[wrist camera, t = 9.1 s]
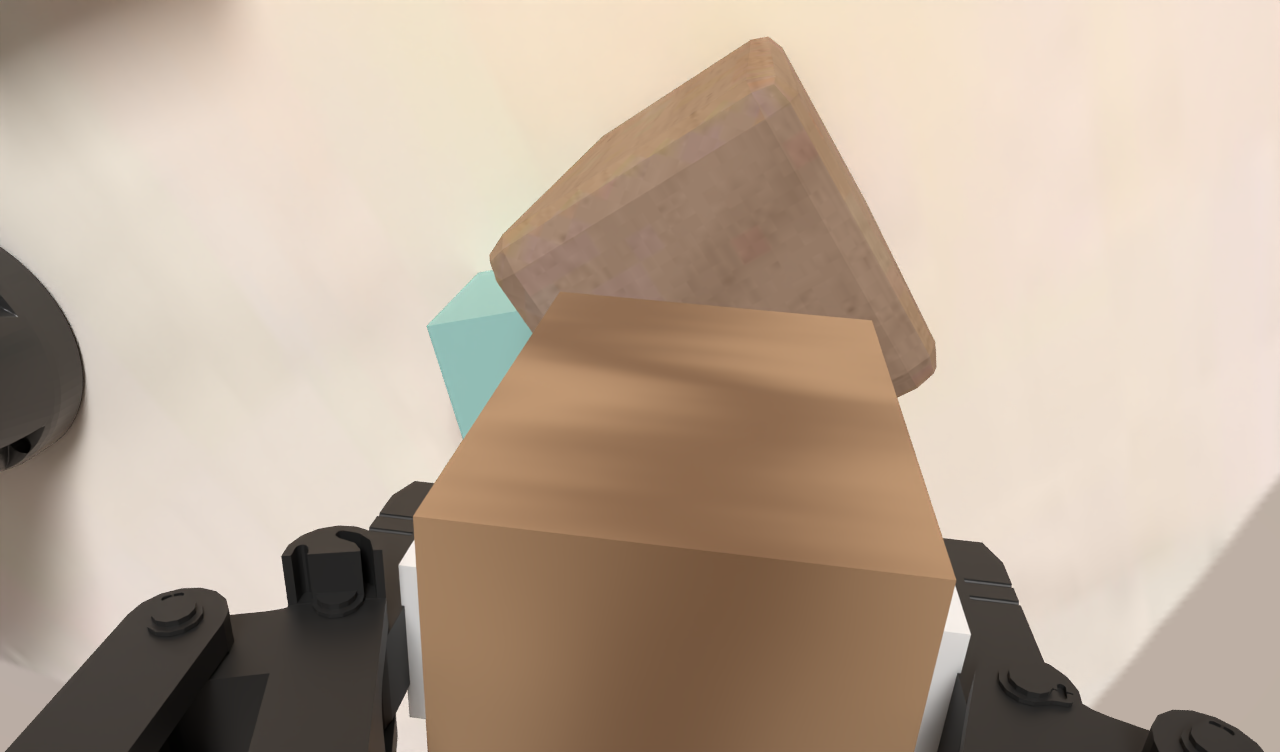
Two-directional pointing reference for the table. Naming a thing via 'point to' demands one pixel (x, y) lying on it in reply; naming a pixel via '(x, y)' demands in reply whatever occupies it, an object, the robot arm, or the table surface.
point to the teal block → (476, 345)
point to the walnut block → (682, 542)
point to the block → (719, 215)
